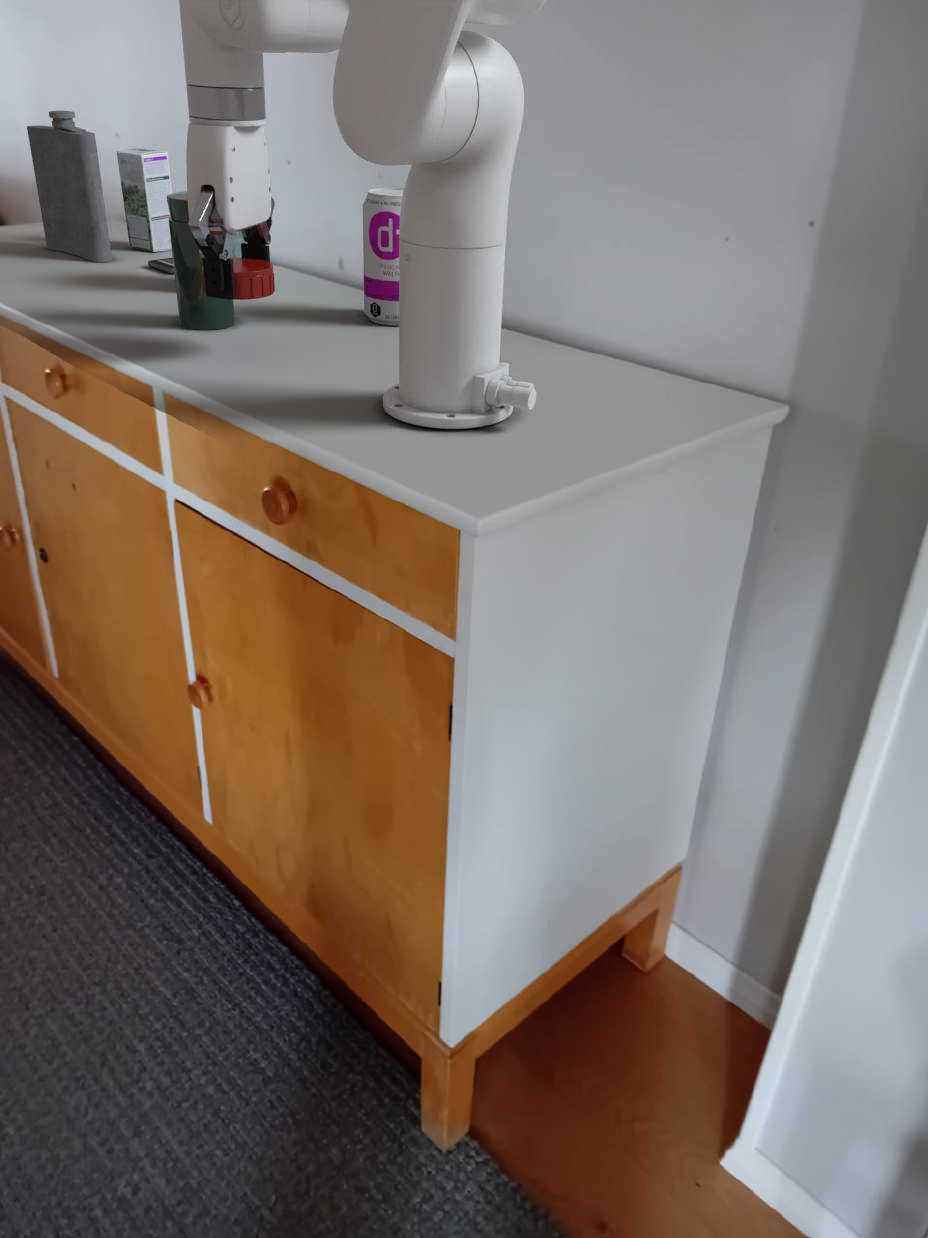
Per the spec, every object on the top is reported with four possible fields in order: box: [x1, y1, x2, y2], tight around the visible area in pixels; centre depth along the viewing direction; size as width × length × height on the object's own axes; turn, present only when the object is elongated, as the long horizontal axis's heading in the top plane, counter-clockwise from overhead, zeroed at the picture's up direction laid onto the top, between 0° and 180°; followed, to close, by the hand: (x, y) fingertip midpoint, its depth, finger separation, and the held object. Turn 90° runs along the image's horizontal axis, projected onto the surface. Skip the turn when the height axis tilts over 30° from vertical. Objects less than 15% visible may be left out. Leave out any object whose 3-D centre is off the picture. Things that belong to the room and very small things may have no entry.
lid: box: [202, 258, 276, 301], centre depth 107 cm, size 8×8×3 cm
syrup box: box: [116, 148, 173, 253], centre depth 158 cm, size 6×6×14 cm
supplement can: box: [362, 187, 404, 327], centre depth 123 cm, size 8×8×15 cm
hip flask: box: [26, 110, 113, 263], centre depth 151 cm, size 16×4×20 cm, turn 49°
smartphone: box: [147, 257, 174, 274], centre depth 151 cm, size 7×1×15 cm
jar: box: [168, 193, 236, 331], centre depth 118 cm, size 7×7×14 cm
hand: (239, 288), depth 107 cm, fingers closed on lid, 7 cm apart
